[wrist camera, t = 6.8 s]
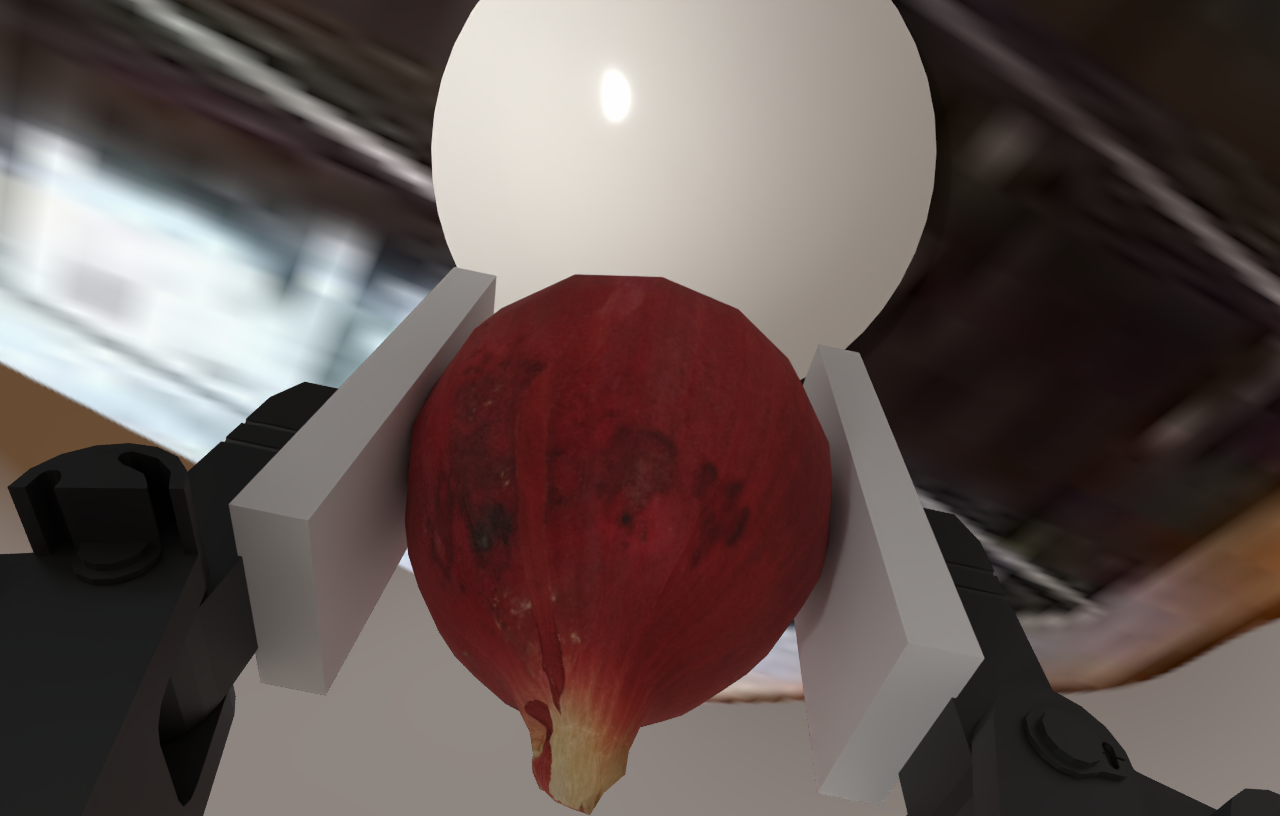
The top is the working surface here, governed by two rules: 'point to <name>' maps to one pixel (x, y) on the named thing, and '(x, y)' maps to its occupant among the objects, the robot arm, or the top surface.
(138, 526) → the robot arm
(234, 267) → the top surface
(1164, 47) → the top surface
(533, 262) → the plate
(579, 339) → the onion
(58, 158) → the top surface
